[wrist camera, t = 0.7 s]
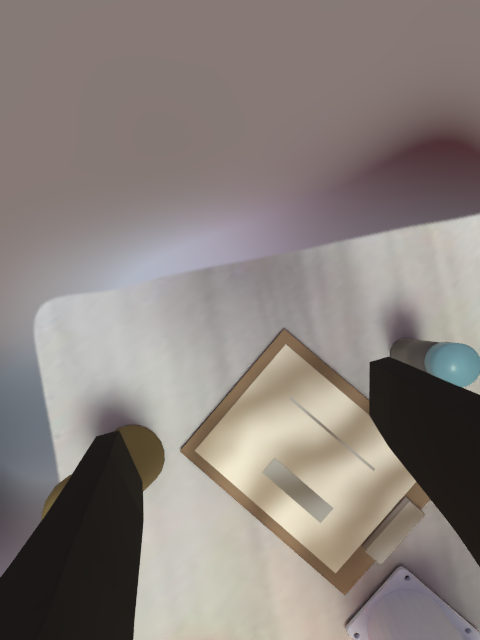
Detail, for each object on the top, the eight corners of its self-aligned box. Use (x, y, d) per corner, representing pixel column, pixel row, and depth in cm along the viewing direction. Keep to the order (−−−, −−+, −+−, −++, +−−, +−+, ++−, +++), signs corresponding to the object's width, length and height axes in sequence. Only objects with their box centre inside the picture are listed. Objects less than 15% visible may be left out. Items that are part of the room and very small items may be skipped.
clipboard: (450, 470, 31) (458, 476, 30) (343, 591, 31) (347, 602, 30) (284, 328, 32) (285, 329, 30) (180, 449, 32) (177, 454, 31)
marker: (429, 351, 31) (490, 363, 23) (407, 376, 31) (461, 396, 23) (403, 330, 31) (456, 334, 23) (382, 355, 31) (426, 367, 23)
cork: (118, 413, 32) (48, 462, 21) (175, 441, 32) (134, 505, 21) (91, 471, 32) (8, 548, 21) (148, 498, 32) (93, 592, 21)
